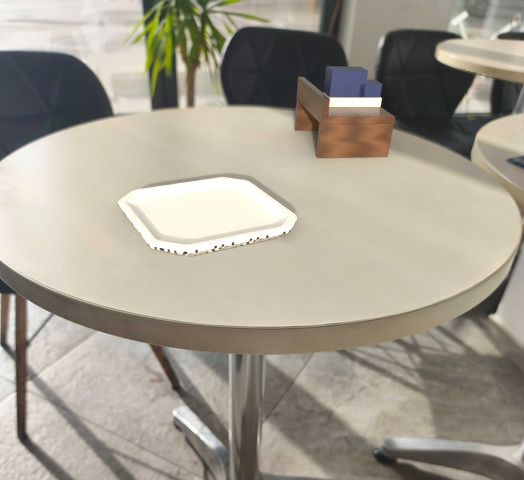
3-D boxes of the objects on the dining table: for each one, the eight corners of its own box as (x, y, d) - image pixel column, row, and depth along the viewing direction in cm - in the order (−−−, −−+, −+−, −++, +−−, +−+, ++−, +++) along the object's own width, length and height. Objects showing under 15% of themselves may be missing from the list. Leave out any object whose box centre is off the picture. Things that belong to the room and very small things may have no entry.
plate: (309, 239, 66) (310, 224, 64) (160, 272, 58) (158, 255, 56) (240, 187, 80) (240, 173, 78) (112, 207, 72) (110, 192, 70)
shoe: (372, 101, 100) (378, 66, 96) (380, 106, 96) (386, 71, 93) (320, 101, 98) (323, 65, 94) (326, 106, 95) (330, 70, 91)
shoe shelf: (355, 128, 110) (362, 77, 104) (387, 157, 95) (398, 98, 89) (294, 129, 108) (298, 76, 102) (317, 158, 93) (323, 98, 87)
